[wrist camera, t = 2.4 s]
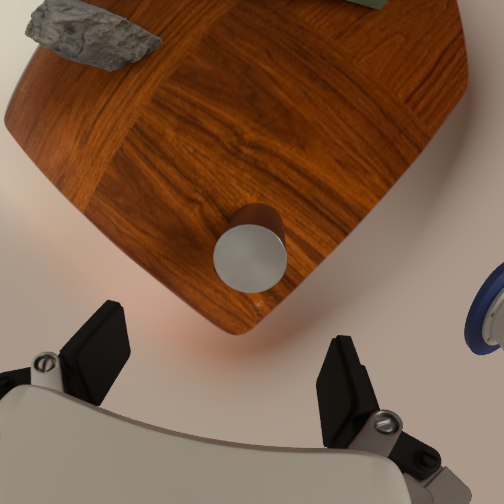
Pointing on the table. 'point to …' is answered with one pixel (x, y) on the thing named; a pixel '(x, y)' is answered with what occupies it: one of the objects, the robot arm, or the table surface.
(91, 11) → the decorative rock
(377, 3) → the green block
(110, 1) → the table surface
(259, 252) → the silver metal cylinder
